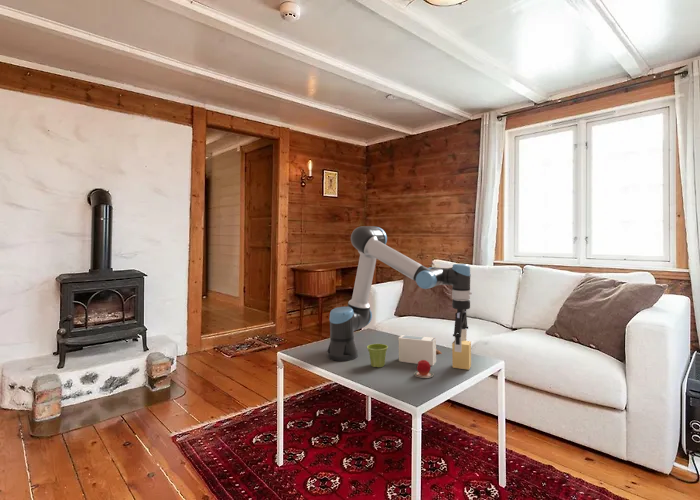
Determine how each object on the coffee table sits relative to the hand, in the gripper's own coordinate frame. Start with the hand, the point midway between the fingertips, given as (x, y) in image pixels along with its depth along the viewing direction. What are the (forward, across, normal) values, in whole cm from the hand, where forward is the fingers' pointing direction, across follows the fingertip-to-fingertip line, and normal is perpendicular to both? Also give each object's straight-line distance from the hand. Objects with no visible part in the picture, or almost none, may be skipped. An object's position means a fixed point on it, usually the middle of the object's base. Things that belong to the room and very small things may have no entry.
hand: (460, 347), depth 165 cm
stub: (+9, 0, -1) cm, 9 cm away
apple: (+9, -16, +12) cm, 22 cm away
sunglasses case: (+10, +19, +20) cm, 29 cm away
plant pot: (+10, -12, +34) cm, 38 cm away
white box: (+9, 0, +19) cm, 21 cm away
